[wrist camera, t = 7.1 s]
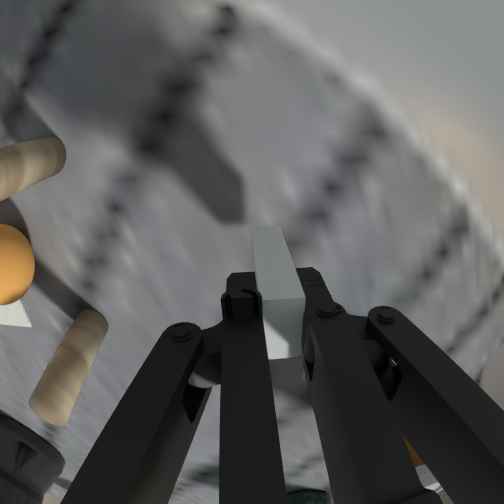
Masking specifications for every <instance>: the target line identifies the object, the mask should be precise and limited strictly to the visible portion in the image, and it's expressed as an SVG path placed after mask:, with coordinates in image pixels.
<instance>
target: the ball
mask: <svg viewBox="0 0 504 504" xmlns="http://www.w3.org/2000/svg"><path fill="white" fill-rule="evenodd" d="M34 271H35V260H34V254H33V251H32V248H31V245H30V244H29V242H28V240H27V239H26V237H25V236H24V235H23V234H22V233H21V232H20V231H19V230H17V229H16V228H14V227H12V226H9V225H6V224H0V305H1V306H2V305H9V304H12V303H14V302H16V301H18V300H19V299H20V298H21V297H23V296H24V294H25V293H26V292H27V291H28V289H29V287H30V285H31V283H32V280H33V277H34Z"/></svg>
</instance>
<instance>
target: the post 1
mask: <svg viewBox="0 0 504 504" xmlns="http://www.w3.org/2000/svg"><path fill="white" fill-rule="evenodd" d="M65 160H66V150H65V147H64V144H63V143H62V141H61V140H60V139H59V138H57V137H55V136H46V137H42V138H37V139H33V140H29V141H24V142H20V143H16V144H13V145H9V146H5V147H1V148H0V201H2V200H4V199H5V198H7V197H9V196H11V195H13V194H15V193H17V192H19V191H21V190H23V189H25V188H27V187H30V186H32V185H34V184H36V183H38V182H40V181H42V180H45V179H47V178H49V177H51V176H54V175H56V174H57V173H59V172H60V171H61V170H62V168H63V166H64V164H65Z"/></svg>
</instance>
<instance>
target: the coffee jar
mask: <svg viewBox="0 0 504 504" xmlns="http://www.w3.org/2000/svg"><path fill="white" fill-rule="evenodd" d="M286 495H287V503H288V504H331V501H330V496H329V495H328V494H327V493H323V492H314V491H301V492H298V493H293V494H291V493H289V494H286Z"/></svg>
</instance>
